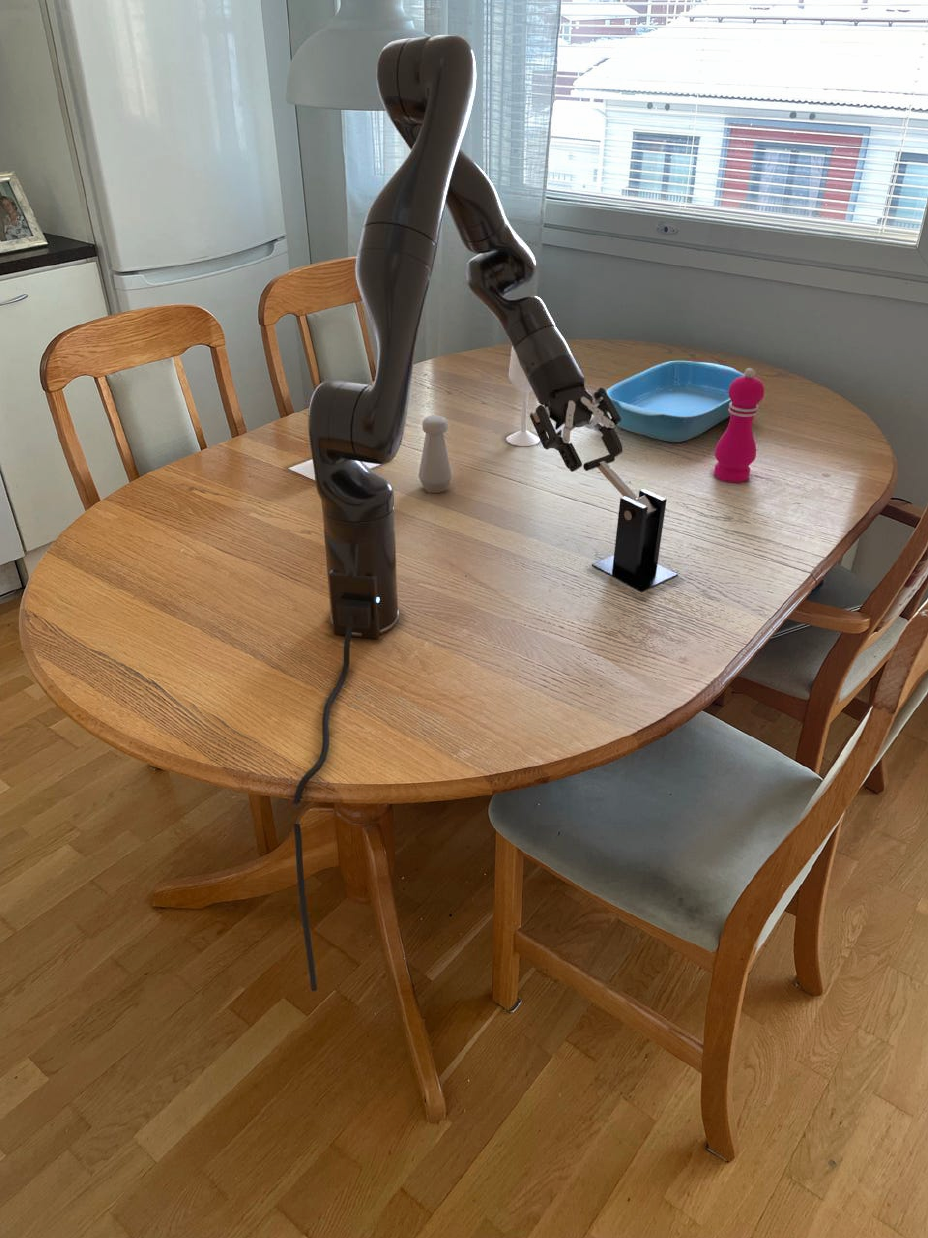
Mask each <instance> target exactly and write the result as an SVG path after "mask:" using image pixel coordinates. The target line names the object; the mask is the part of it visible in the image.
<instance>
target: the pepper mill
mask: <svg viewBox="0 0 928 1238" xmlns="http://www.w3.org/2000/svg"><path fill="white" fill-rule="evenodd" d="M743 374H744V375H745V376H742V377H738V378H736V379H735V380H734V381H733V382H732V383H731V385H730V387H729V391H728V395H729V398H730V399H731V401H732V402H730V403H729V406H730V407H729V409H728V411H729V412H730V416H729V421H728V425H727V427H726V430H725V431H724V433H723V434H722V436H721V437H720V438H719V440H718V442H717V443H716V445H715V449H714V457H715V459H716V461H717V462H716V463H715V465H714V470H713V474H714V476H715V478H717V479H719V480H720V481H723V482H729V483H741V482H745V481H747V480H748V479H749V478H750V474H751V467H750V465H751V464H752V463H753V462H754V461H755V460H756V458H757V457H756V456H757V447H756V441H755V438H754V433H753V423H754V422H753V421H754V417H755V416H756V415H758V410H759V405H758V404H759V403H760V402H761V401H762V400H763V399H764V396H765V386H764V383H763V382H762V380H760V379H759V378H757V377H755V375H756V371H755V370H754V368H751V367H748V368H746V369H745V370H744V372H743Z"/></svg>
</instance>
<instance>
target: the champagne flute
mask: <svg viewBox="0 0 928 1238" xmlns="http://www.w3.org/2000/svg"><path fill="white" fill-rule="evenodd" d="M509 360H510V361H509V367H508V378H509V381H510V382H511V384H512V385H513V386H514V387H515V388H516V389H517V391H519V392H521V412H520V430H518V431H515V432H514V433H512V434H510V435H508V436H507V437H506V442H507V443H509V444H511V445H514V446H518V447H530V446H534V445H537V444H538V443H540V442H541V441H540V438H539V436H538V435H535V434H534V433H532V432H531V431H529V430H527V429H528V428H527V427H528V406H529V404H528V403H529V393H530V392H533V390H532V388H531V386H530V384H529V382H528V380H527V378H526V376H525V374H524V372H523V370H522V368H521V366H520V363H519V360H518V357H517V354H516V352H515V350H514V348H513V346H512V345H511V351H510V358H509Z"/></svg>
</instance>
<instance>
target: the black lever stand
mask: <svg viewBox="0 0 928 1238" xmlns="http://www.w3.org/2000/svg"><path fill="white" fill-rule="evenodd" d="M638 491H639V492H638V498H640V497H642V496H645V497H646V498H647V499H648V500H649V501H650V502H651V503H652V504H653V505H654V507H655V508H656V511H655V513H654V514H653V516H652V517H651V519H650V520H648V521H646V517H647V509H648V507H647V506H645V505H643V504H641V503H639V502H636V501H634V500H632V499H630V498H628V497H626V496H624V497H623V496H622V497H620V498H619V506H618V516H617V525H616V533H615V540H614V541H615V542H614V550H613V551H614V553H613V554H612V555H611V556H607V557H605V558H604V559H600V560H599V561H597V562H594V563H592V564H591V566H592V567H593V568H596V569H597V570H599V571H600V572H603V573H604V574H606V575H608V576H610V577H612V578H614V579H616V580H618V581H619V582H621V583H622V584H625V585H626V586H628V587H630V588H632V589H633V590H636V591H638V592H639V593H644V592H646V591H648V590H650V589H652V588H655V587H656V586H659V585H660V584H663V583H666V582H667V581H669V580H671V579H674V578H675V577H678V576H679V574H678V573H677V572H674V571H673V570H671V569H669V568H667V567H665V566H663V565H662V564H659V557H660V549H661V544H662V537H663V536H662V534H663V528H664V521H665V515H666V508H667V498H665V497H663V496H660V495H658V494H656V493H655V492H652V491H649V490H647V489H645V488H643V489H640V490H638Z"/></svg>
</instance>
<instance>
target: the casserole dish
mask: <svg viewBox="0 0 928 1238" xmlns="http://www.w3.org/2000/svg"><path fill="white" fill-rule="evenodd" d="M742 376H745V375H744V372H743V373H742V372H741V371H739V370H736V369H735V368H733V367H730V366H726V365H724V364H723V365H722V364H718V363H712V362H704V361H703V362H702V361H701V362H699V361H690V360H672V361H666V362H663V363H660V364H656V365H654V366H652V367H650V368H647V369H646V370H644V371H641V372H639V373H637V374H635V375H632V376H630V377H627V378H626V379H624V380H621V381H619V382H617V383H616V384H614V385H613V384H612V386H610V387H609V388H607V389H606V390H605V391H606V393H607V394H608V396H609V398H610V400H611V401H612V403H613V405H614V407H615V409H616V410H617V412H618V414H619V416H620V417H621V421H620V422H619V423H618V424H617V425H616V426H618V428H620V429H623V430H625V431H628V432H631V433H634V434H637V435H641V436H645V437H648V438H651V439H654V440H655V439H656V440H658V441H663V442H668V443H681V442H686V441H689V440H692V439H693V438H695V437H698V436H700V435H702V434H703V433H705V432H707V431H708V430H710V429H712V428H713V427H715V426H717V425H718V424H720V423H722V422H723V421H724V420H726V419H728V418H730V412H729V411H728V409H729V407H730V406H729V403H730V402H732V401H731V399H730V398H729V395H728V391H729V387H730V385H731V383H732V382H733V381H734V380H735V379H736V378H738V377H742Z"/></svg>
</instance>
